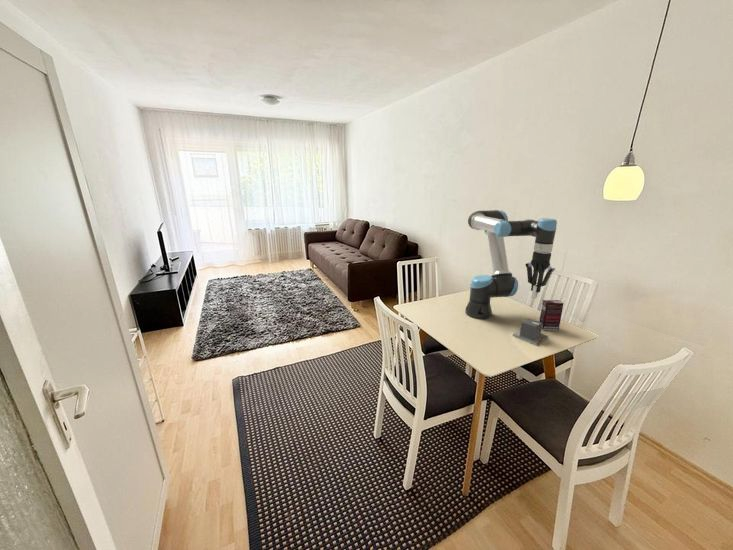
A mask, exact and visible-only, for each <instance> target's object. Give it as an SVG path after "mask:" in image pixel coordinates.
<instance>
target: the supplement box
mask: <svg viewBox="0 0 733 550" xmlns="http://www.w3.org/2000/svg"><path fill="white" fill-rule="evenodd" d="M540 308H541V310H540V316H539V321H538V322H541V323H542V329H541V331H559V330H560V326H561V321H562V314H563V308H564V302H563V301H561V300H560V299H542V304H541V307H540Z"/></svg>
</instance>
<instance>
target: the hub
mask: <svg viewBox="0 0 733 550" xmlns="http://www.w3.org/2000/svg"><path fill="white" fill-rule="evenodd" d="M512 337H515V338H517V339H518V340H522V341H524V342H527V343H529V344H531V345H534V346H538V345H540V344H541V343H543V342H544V341H546V340H547V339H549V335H546V334H544V333H542V332H541V335H540V336H539V337H537V338H535V339H531V338H528V337H526V336H523V335H520V329H519V330H517V331H515V332H513V333H512Z"/></svg>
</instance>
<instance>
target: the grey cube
mask: <svg viewBox="0 0 733 550" xmlns="http://www.w3.org/2000/svg"><path fill="white" fill-rule="evenodd" d="M519 330H520V335H523V336H526V337H528V338H531V339H535V338H537V337H539V336H540V335H541V333H542V323H541V322H539V321H538V320H536V319H535V320H534V319H531V318H526V319H524V320H523V321H521V323H520V329H519Z"/></svg>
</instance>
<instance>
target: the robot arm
mask: <svg viewBox="0 0 733 550" xmlns="http://www.w3.org/2000/svg"><path fill="white" fill-rule="evenodd" d="M467 224H468V227H470V228H471V229H472V230H477V231H479V230H481V231H484V234H485V235H487V239H488V246H489V253H490V259H491V266H492V267H491V269H492V274H491V275H488V274H481V275H479V274H478V275H475V276H473V277H472V279H471V280H470V281H471V282H470V289H469V300H468V303H467V305H466V306H465V315H467V316H469V317H471V318H474V319H481V320H483V319H484V320H485V319H489V318H491V317H492V316H493V311H492V310H493V309H492V306H491V298H492V299H493V298H509V297H514V296H515V295H516V294H517V292H518V289H519V281H518V280H517V278H516V277H515V276H513V273H512V272H511V271H509V265H508V257H507V252H506V246H505V245H506V244H505V238H507V237H528V236H529V237H534V238H535V239H534V245H533V252H532V258H531V260H530V262H527V263H525V264H524V265H525V267H526V274H527V283H528V284H531V286H530V287H531V288H530V291H531V292H532V293H531V299H534V300H535V299H537V298H538V294H539V293H541V289H542V287H544V286H547V284H548V282H549V279H550V277H551V275H552V273H553V272H554V271H556V269H555V267H552V266H551V262H550V261H551V258H552V252H553V247H554V242H555V238H556V237H555V236H556V231H557V228H558V227H557V226H558V222H557V219H555V218H551V217H549V218H548V217H546V218H544V217H542V218H539V219H538V220H535V219H532V218H531V219H527V218H526V219H523V220H509V218H508V215H507V213H506V212H505V211H504V210H501V209H499V210H498V209H494V210H491V209H490V210H476V211H473V213H471V214H469V216H468V220H467ZM546 270H547V272H546V273H545V271H546ZM544 275H545V276H544Z"/></svg>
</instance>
